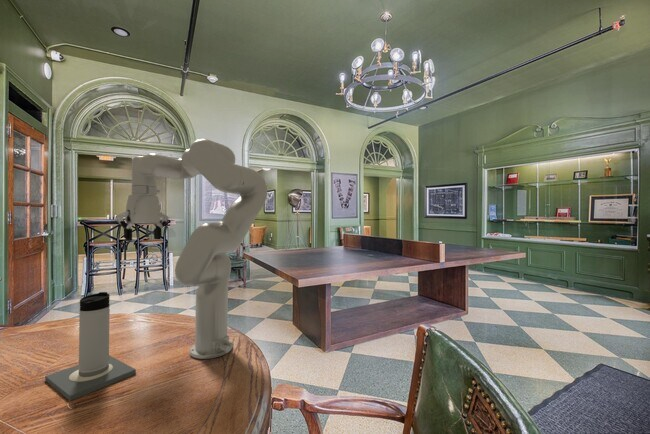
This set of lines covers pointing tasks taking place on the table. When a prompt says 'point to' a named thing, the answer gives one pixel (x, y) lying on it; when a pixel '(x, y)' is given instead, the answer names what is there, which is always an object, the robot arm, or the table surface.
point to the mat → (87, 379)
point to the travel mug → (94, 334)
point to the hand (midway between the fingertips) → (143, 239)
